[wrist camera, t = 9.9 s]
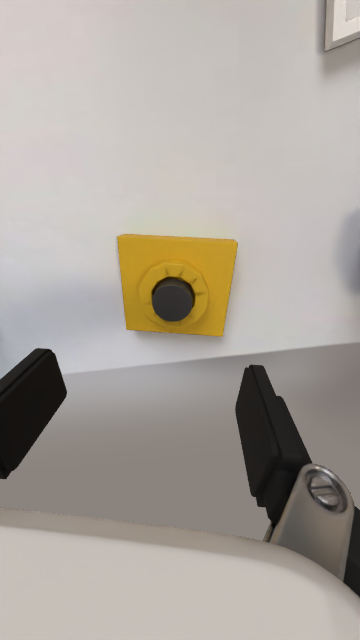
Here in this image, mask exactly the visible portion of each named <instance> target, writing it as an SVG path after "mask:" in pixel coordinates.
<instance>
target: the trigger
mask: <svg viewBox="0 0 360 640" xmlns="http://www.w3.org/2000/svg"><path fill="white" fill-rule="evenodd" d="M192 299H193V296H192V291H191V289H190V288H189V286H188V285H187V284H186V283H184V282H183V281H181V280H177V279H169V280H166V281H164V282H162V283H161V284H160V285H159V286H158V287H157V289H156V291H155V293H154V295H153V298H152V306H153V309H154V311H155V313H156V314H157V315H158V316H159V317H160V318H162V319H163V320H166V321H170V322H176V321H180V320H182V319H184V318H186V317H187V316H188V315H189V313H190V311H191V309H192Z"/></svg>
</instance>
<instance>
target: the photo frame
mask: <svg viewBox="0 0 360 640" xmlns="http://www.w3.org/2000/svg"><path fill="white" fill-rule="evenodd" d="M346 1H347V0H327V3H326V31H325V51H327V50H330V49H332V48H335V47H337V46H340V45H342V44H345V43H347V42H350V41H352V40H355V39H357V38H359V37H360V16H358V17H356V18H354V19H351V20H349V21H346V22H345V17H346Z"/></svg>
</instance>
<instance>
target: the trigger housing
mask: <svg viewBox="0 0 360 640" xmlns="http://www.w3.org/2000/svg"><path fill="white" fill-rule="evenodd" d="M117 240H118V250H119V260H120V270H121V280H122V290H123V300H124V311H125V321H126V329H127V330H139V331H153V332H167V333H181V334H195V335H209V336H223V330H224V324H225V318H226V312H227V306H228V300H229V294H230V288H231V282H232V276H233V270H234V264H235V258H236V251H237V245H238V243H237V242H236V241H235V240H231V239H212V238H192V237H173V236H154V235H134V234H123V235H121V236H118V237H117ZM169 279H177V280H181V281H183V282H184V283H186V284H187V285H188V286H189V288H190V289H191V291H192V296H193V299H192V309H191V311H190V313H189V315H188V316H187V317H186V318H184V319H182V320H180V321H176V322H170V321H166V320H163V319H162V318H160V317H159V316H158V315H157V314H156V313H155V311H154V309H153V306H152V298H153V295H154V293H155V291H156V289H157V287H158V286H159V285H160V284H161V283H162V282H164V281H166V280H169Z"/></svg>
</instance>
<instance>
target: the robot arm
mask: <svg viewBox="0 0 360 640" xmlns="http://www.w3.org/2000/svg"><path fill="white" fill-rule="evenodd" d="M66 395H67V390H66V387H65V384H64V381H63V378H62V374H61V371H60V368H59V365H58V362H57V359H56V356H55V353H53V352H52V350H50V349H41V348H37V349H35V350H34V351H32V352H31V353H30V354H29V355H28V356H27V357H26V358H24V359H23V360H22V361H21V362H20V363H19V364H18V365H16V366H15V367H14V368H13V369H12V370H11V371H9V372H8V373H7V374H6V375H5V376H4V377H3V378H1V379H0V479H6V478H7V477H8V476H9V474H10V473H11V471H13V470H15V469H16V468H17V467H18V466H19V464H20V463H21V461H22V460H23V458H24V457H25V455H26V454H27V453H28V451H29V450H30V448H31V447H32V445H33V444H34V442H35V441H36V440H37V438H38V437H39V435H40V434H41V432H42V431H43V429H44V428H45V427H46V425H47V424H48V422H49V421H50V420H51V418H52V417H53V415H54V413H55V412H56V411H57V409H58V408H59V407H60V405H61V404H62V402H63V401H64V399H65V398H66ZM235 410H236V418H237V423H238V428H239V433H240V438H241V444H242V450H243V454H244V460H245V465H246V471H247V476H248V481H249V487H250V492H251V495H252V496H253V497H256V500H257V505H258V507H266V511H267V515H268V518H269V519H270V520H271V522H270V525H269V527H268V529H267V532H266V534H265V536H264V539H263V541H260V540H255V539H250V538H246V537H241V536H234V535H226V534H220V533H212V532H205V531H198V530H191V529H183V528H175V527H166V526H158V525H150V524H141V523H133V522H125V521H116V520H108V519H99V518H90V517H82V516H73V515H65V514H55V513H47V512H38V511H29V510H19V509H11V508H1V507H0V640H360V510H359V509H358V508H357V507H355V506H354V501H353V498H352V496H351V493H350V492H349V490H348V488H347V487H346V485H345V484H344V483H343V481H342V480H341V479H340V478H339V477H338V476H337V475H336V474H334V473H333V472H332V471H331V470H329V469H327V468H325V467H324V466H321V465H318V464H313V463H312V461H311V459H310V457H309V455H308V452H307V450H306V448H305V446H304V444H303V441H302V439H301V437H300V435H299V432H298V430H297V428H296V426H295V424H294V421H293V419H292V417H291V415H290V413H289V411H288V408H287V406H286V404H285V402H284V400H283V398H282V397H281V396H276V394H275V392H274V390H273V387H272V385H271V383H270V380H269V378H268V375H267V373H266V371H265V368H264V366H262V365H250V366H249V368H247V367H246V368H245V370H244V374H243V379H242V383H241V386H240V391H239V395H238V398H237V402H236V409H235Z"/></svg>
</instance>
